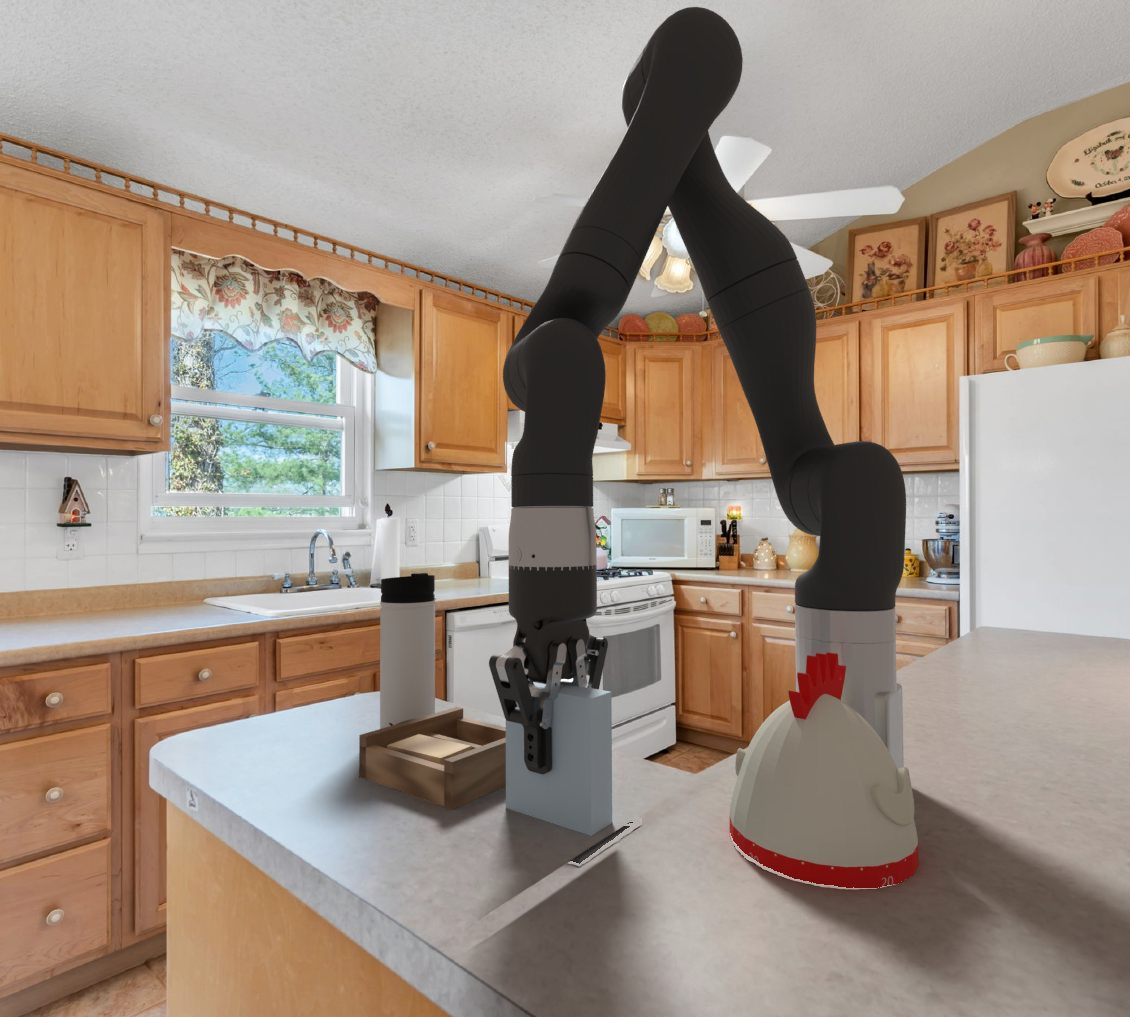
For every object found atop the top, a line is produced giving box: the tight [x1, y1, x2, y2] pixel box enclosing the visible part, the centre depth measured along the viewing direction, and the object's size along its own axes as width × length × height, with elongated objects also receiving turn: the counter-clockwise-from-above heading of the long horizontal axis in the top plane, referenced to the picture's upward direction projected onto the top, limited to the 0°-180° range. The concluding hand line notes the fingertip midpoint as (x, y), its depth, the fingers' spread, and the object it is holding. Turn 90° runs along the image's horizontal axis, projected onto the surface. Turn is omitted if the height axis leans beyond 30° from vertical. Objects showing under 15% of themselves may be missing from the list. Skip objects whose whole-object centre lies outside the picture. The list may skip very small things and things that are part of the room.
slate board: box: [505, 682, 613, 837], centre depth 58 cm, size 9×3×11 cm, turn 53°
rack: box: [358, 706, 506, 810], centre depth 68 cm, size 13×13×5 cm
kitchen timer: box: [729, 652, 920, 888], centre depth 55 cm, size 14×14×15 cm
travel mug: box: [379, 572, 436, 729], centre depth 80 cm, size 6×7×20 cm
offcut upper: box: [387, 734, 471, 765], centre depth 66 cm, size 7×4×2 cm, turn 57°
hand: (553, 763), depth 58 cm, fingers open, 3 cm apart
